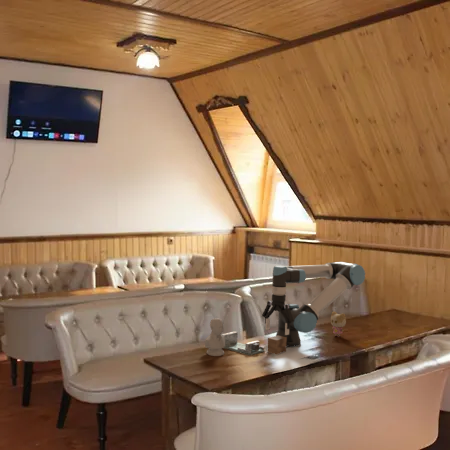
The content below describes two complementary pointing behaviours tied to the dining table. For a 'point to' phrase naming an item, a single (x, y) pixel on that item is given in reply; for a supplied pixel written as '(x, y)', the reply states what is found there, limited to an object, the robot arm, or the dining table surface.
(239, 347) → the vise
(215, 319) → the figurine
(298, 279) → the robot arm
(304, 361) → the dining table surface
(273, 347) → the block
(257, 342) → the slide jaw
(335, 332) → the toy
